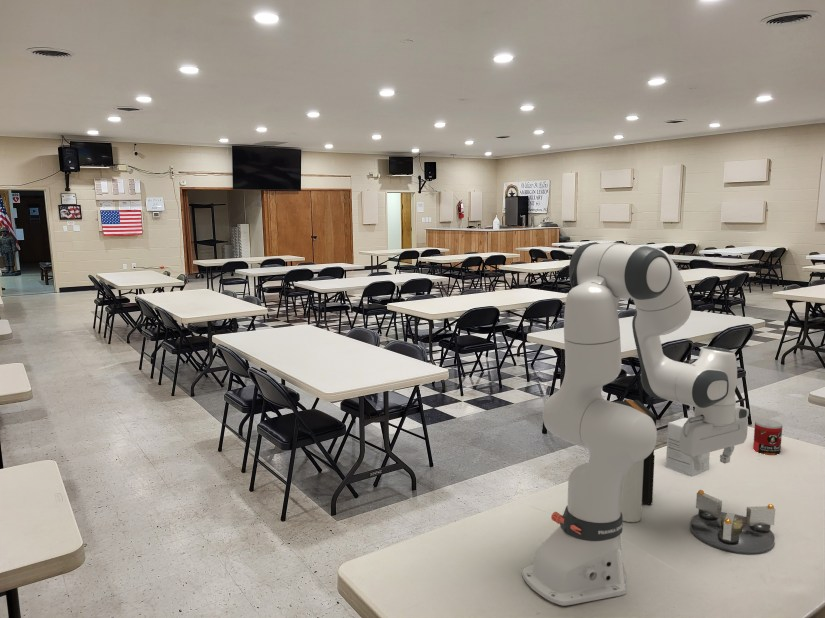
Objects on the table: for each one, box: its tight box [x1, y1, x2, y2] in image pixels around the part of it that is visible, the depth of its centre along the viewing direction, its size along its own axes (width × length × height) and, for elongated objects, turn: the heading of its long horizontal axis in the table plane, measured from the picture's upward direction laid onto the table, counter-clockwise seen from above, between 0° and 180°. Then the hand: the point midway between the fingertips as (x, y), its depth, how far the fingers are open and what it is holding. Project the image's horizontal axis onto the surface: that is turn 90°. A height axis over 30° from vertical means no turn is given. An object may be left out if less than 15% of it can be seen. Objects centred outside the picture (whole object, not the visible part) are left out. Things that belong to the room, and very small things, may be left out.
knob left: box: [695, 489, 723, 521], centre depth 155 cm, size 6×4×6 cm
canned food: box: [752, 418, 783, 456], centre depth 199 cm, size 8×8×11 cm
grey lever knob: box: [745, 503, 776, 533], centre depth 148 cm, size 6×4×6 cm
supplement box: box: [665, 417, 711, 477], centre depth 187 cm, size 9×9×15 cm
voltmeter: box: [614, 399, 657, 506], centre depth 171 cm, size 16×9×25 cm, turn 178°
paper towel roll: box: [621, 460, 644, 523], centre depth 157 cm, size 7×6×21 cm
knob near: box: [718, 511, 739, 544], centre depth 144 cm, size 6×4×6 cm
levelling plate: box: [689, 511, 775, 555], centre depth 149 cm, size 18×18×4 cm
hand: (711, 466), depth 154 cm, fingers open, 8 cm apart
